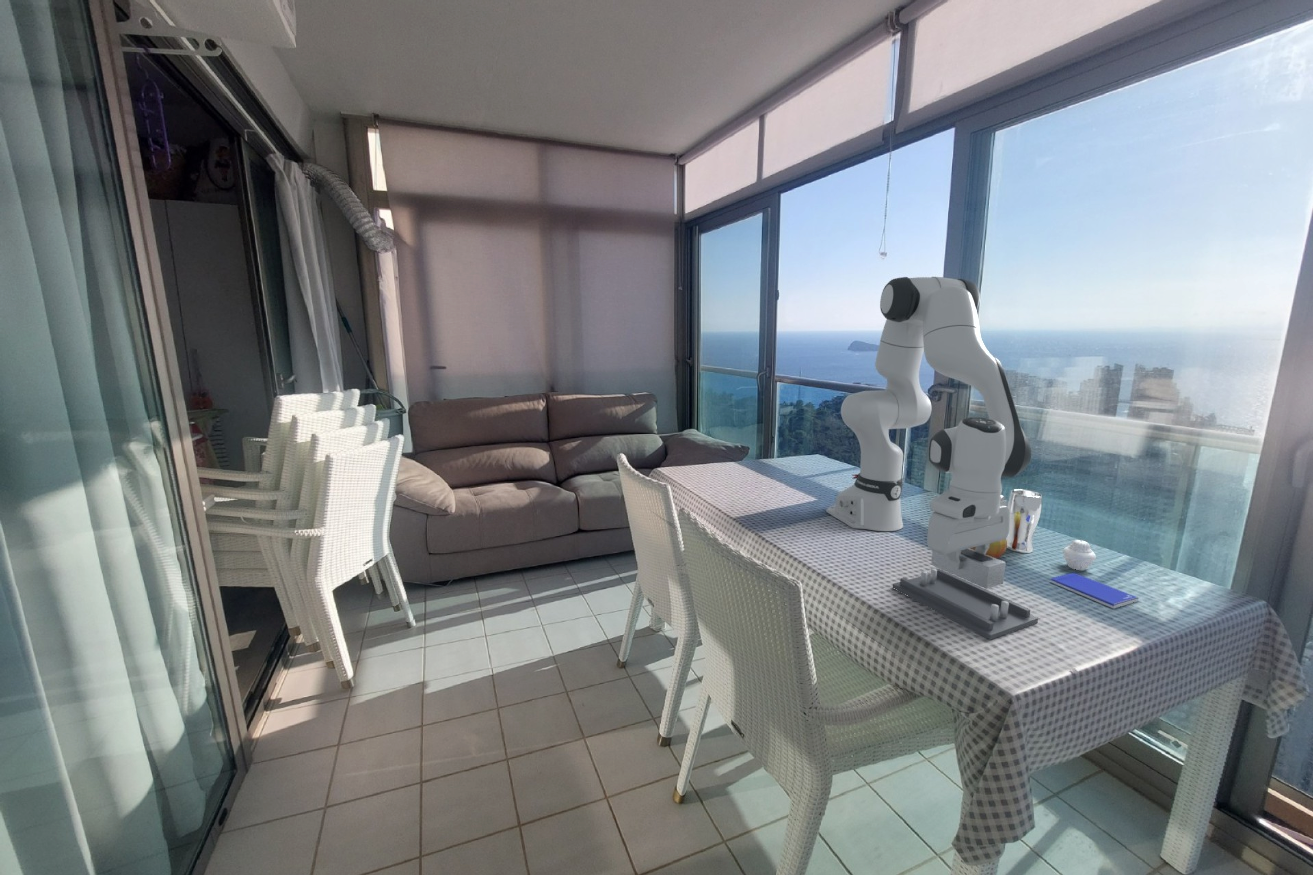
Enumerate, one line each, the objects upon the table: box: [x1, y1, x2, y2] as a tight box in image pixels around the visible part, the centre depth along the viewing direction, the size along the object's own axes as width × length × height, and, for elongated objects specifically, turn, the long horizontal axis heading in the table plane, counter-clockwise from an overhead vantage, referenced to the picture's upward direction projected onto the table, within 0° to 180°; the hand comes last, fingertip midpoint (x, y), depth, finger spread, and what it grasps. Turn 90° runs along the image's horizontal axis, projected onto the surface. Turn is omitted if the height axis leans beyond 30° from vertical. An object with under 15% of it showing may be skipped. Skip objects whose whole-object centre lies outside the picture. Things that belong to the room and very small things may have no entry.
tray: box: [892, 567, 1039, 641], centre depth 109 cm, size 22×14×4 cm, turn 25°
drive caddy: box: [930, 548, 1007, 590], centre depth 108 cm, size 12×5×5 cm, turn 25°
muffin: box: [1062, 539, 1097, 571], centre depth 126 cm, size 6×6×7 cm
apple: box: [970, 538, 1007, 559], centre depth 132 cm, size 10×10×8 cm
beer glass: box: [1006, 488, 1043, 554], centre depth 136 cm, size 7×7×15 cm
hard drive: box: [1050, 572, 1139, 609], centre depth 115 cm, size 2×8×12 cm
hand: (966, 565), depth 108 cm, fingers closed on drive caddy, 5 cm apart
